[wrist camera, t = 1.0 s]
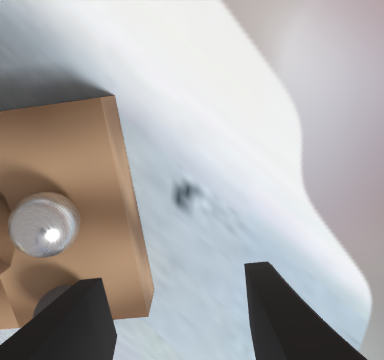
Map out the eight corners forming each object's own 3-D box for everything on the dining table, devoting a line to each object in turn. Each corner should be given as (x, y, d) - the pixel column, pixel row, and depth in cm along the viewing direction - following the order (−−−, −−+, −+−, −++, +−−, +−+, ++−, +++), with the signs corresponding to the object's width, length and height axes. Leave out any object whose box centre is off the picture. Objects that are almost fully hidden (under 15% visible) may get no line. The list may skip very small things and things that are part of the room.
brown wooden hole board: (154, 289, 21) (148, 316, 18) (-63, 309, 22) (-95, 337, 19) (114, 95, 17) (100, 97, 14) (-149, 131, 18) (-203, 139, 15)
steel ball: (95, 234, 17) (72, 268, 14) (40, 239, 17) (5, 274, 14) (81, 179, 16) (52, 203, 13) (23, 186, 16) (-20, 211, 13)
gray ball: (108, 314, 18) (90, 361, 15) (58, 319, 18) (30, 365, 15) (96, 270, 17) (74, 310, 14) (43, 275, 18) (10, 316, 14)
